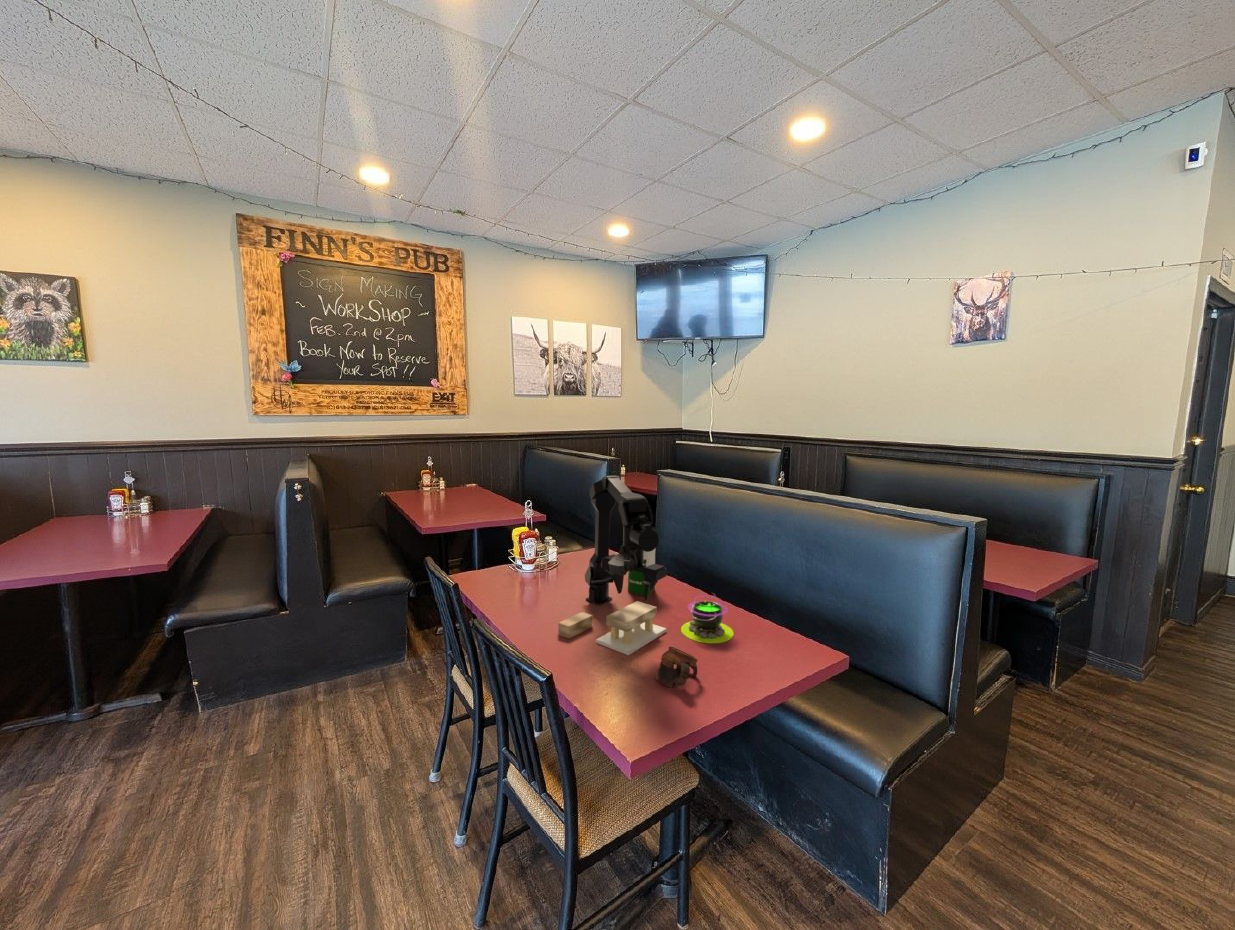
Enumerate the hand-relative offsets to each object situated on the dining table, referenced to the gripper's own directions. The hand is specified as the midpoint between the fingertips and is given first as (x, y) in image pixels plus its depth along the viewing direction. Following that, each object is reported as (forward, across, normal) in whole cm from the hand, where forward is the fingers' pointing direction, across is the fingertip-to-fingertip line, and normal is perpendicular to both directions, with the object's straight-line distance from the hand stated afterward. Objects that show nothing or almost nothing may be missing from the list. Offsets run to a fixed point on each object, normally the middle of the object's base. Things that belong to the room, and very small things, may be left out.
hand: (632, 597), depth 140 cm
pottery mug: (+12, +22, -11) cm, 27 cm away
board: (+7, 0, 0) cm, 7 cm away
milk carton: (+12, -19, +31) cm, 38 cm away
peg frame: (+12, 0, 0) cm, 12 cm away
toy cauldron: (+12, +14, +17) cm, 25 cm away
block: (+12, -15, -7) cm, 20 cm away
